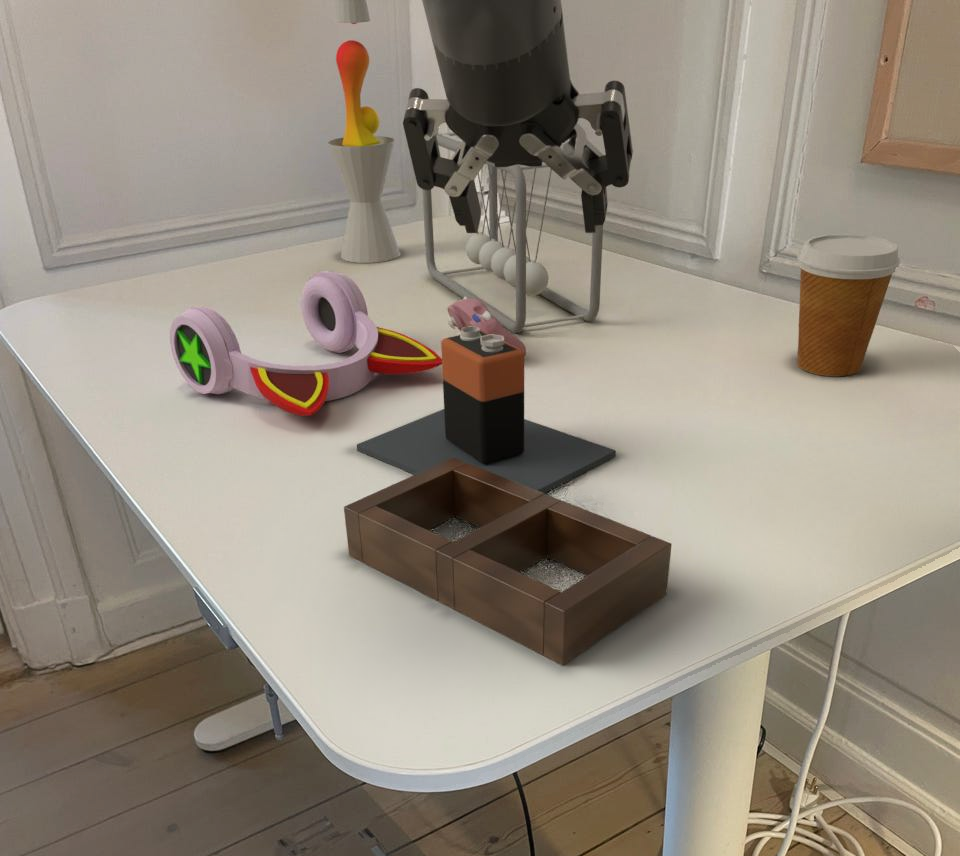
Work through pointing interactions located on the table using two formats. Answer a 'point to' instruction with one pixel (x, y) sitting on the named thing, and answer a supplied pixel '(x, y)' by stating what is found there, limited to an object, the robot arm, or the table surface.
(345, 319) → the headphones
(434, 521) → the tray
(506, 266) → the newton's cradle
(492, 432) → the battery
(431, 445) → the mat
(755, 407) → the table surface
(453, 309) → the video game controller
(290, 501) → the table surface
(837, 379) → the table surface
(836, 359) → the disposable coffee cup
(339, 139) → the lava lamp
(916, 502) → the table surface
